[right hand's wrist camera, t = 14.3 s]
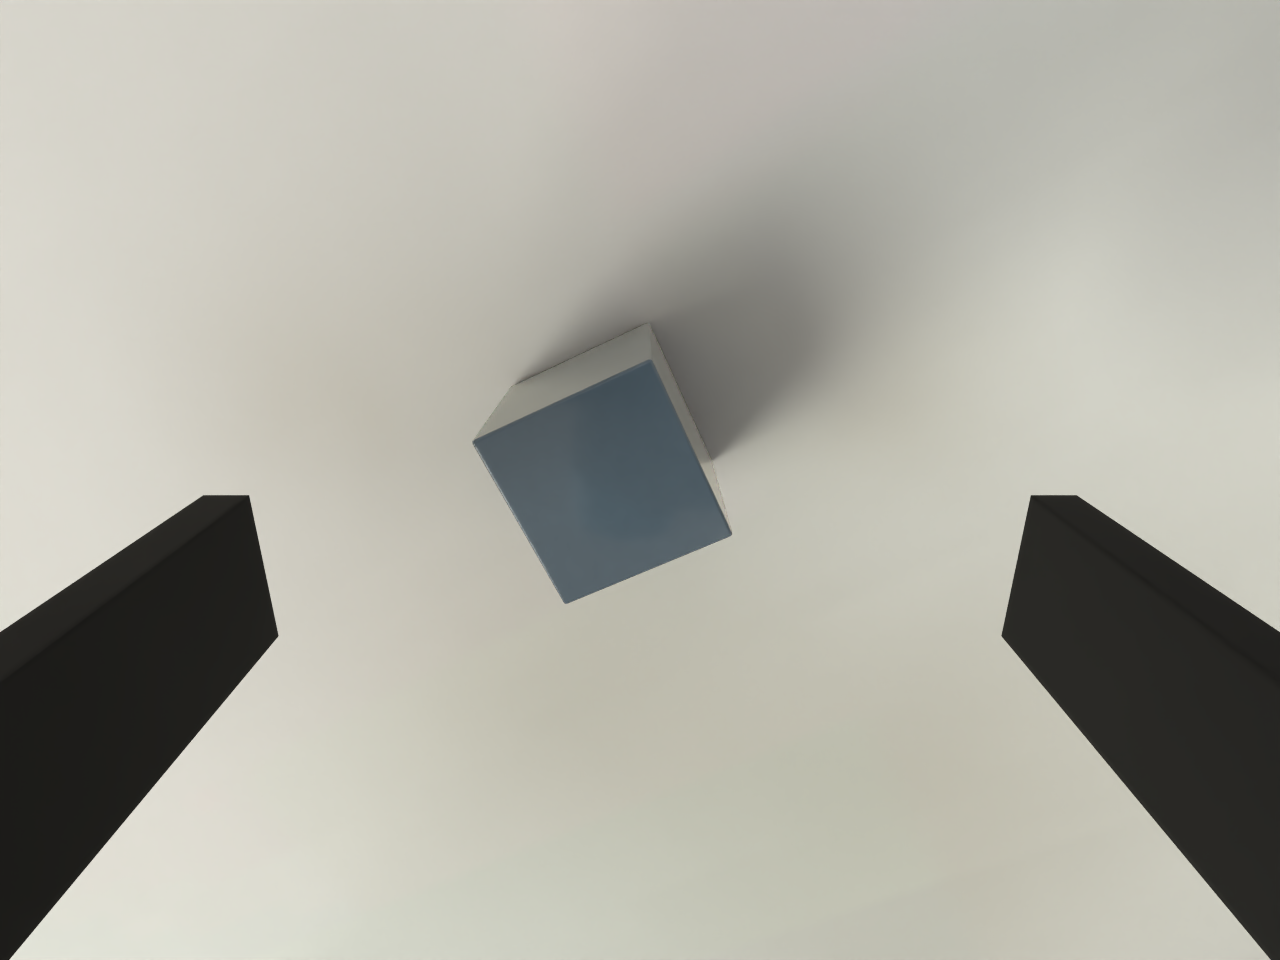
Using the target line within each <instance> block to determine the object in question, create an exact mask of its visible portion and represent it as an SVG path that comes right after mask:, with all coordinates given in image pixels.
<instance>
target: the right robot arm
mask: <svg viewBox="0 0 1280 960" xmlns="http://www.w3.org/2000/svg"><path fill="white" fill-rule="evenodd" d="M277 637H278V631H277V627H276V622H275V617H274V612H273V607H272V603H271V598H270V593H269V588H268V584H267V579H266V574H265V569H264V565H263V560H262V555H261V550H260V545H259V541H258V536H257V531H256V526H255V522H254V517H253V512H252V507H251V502H250V498H249V495H203V496H202V497H200V498H199V499H197V500H196V501H194V502H193V503H191V504H190V505H188V506H187V507H185V508H184V509H182V510H181V511H179V512H178V513H177V514H175V515H174V516H172V517H171V518H169V519H168V520H166V521H165V522H163V523H162V524H160V525H159V526H157V527H156V528H154V529H153V530H151V531H150V532H148V533H147V534H145V535H144V536H142V537H141V538H139V539H138V540H136V541H135V542H133V543H132V544H130V545H129V546H128V547H126V548H125V549H123V550H122V551H120V552H119V553H117V554H116V555H114V556H113V557H111V558H110V559H108V560H107V561H105V562H104V563H102V564H101V565H99V566H98V567H96V568H95V569H93V570H92V571H90V572H89V573H87V574H86V575H84V576H83V577H81V578H80V579H78V580H77V581H76V582H74V583H73V584H71V585H70V586H68V587H67V588H65V589H64V590H62V591H61V592H59V593H58V594H56V595H55V596H53V597H52V598H50V599H49V600H47V601H46V602H44V603H43V604H41V605H40V606H38V607H37V608H35V609H34V610H32V611H31V612H29V613H28V614H27V615H25V616H24V617H22V618H21V619H19V620H18V621H16V622H15V623H13V624H12V625H10V626H9V627H7V628H6V629H4V630H3V631H1V632H0V960H9V959H10V958H11V957H12V956H13V955H14V953H15V952H16V951H17V950H18V949H19V947H20V946H21V945H22V944H23V942H24V941H25V940H26V939H27V938H28V936H29V935H30V934H31V933H32V932H33V930H34V929H35V928H36V927H37V926H38V924H39V923H40V922H41V921H42V920H43V918H44V917H45V916H46V915H47V914H48V912H49V911H50V910H51V909H52V908H53V906H54V905H55V904H56V903H57V902H58V900H59V899H60V898H61V897H62V896H63V894H64V893H65V892H66V891H67V890H68V888H69V887H70V886H71V885H72V884H73V882H74V881H75V880H76V879H77V878H78V876H79V875H80V874H81V873H82V872H83V870H84V869H85V868H86V867H87V866H88V864H89V863H90V862H91V861H92V860H93V858H94V857H95V856H96V855H97V854H98V852H99V851H100V850H101V849H102V848H103V846H104V845H105V844H106V843H107V842H108V840H109V839H110V838H111V837H112V836H113V834H114V833H115V832H116V831H117V830H118V828H119V827H120V826H121V825H122V823H123V822H124V821H125V820H126V819H127V817H128V816H129V815H130V814H131V813H132V811H133V810H134V809H135V808H136V807H137V805H138V804H139V803H140V802H141V801H142V799H143V798H144V797H145V796H146V795H147V793H148V792H149V791H150V790H151V789H152V787H153V786H154V785H155V784H156V783H157V781H158V780H159V779H160V778H161V777H162V775H163V774H164V773H165V772H166V771H167V769H168V768H169V767H170V766H171V765H172V763H173V762H174V761H175V760H176V759H177V757H178V756H179V755H180V754H181V753H182V751H183V750H184V749H185V748H186V747H187V745H188V744H189V743H190V742H191V741H192V739H193V738H194V737H195V736H196V735H197V733H198V732H199V731H200V730H201V729H202V727H203V726H204V725H205V724H206V723H207V721H208V720H209V719H210V718H211V717H212V715H213V714H214V713H215V712H216V710H217V709H218V708H219V707H220V706H221V704H222V703H223V702H224V701H225V700H226V698H227V697H228V696H229V695H230V694H231V692H232V691H233V690H234V689H235V688H236V686H237V685H238V684H239V683H240V682H241V680H242V679H243V678H244V677H245V676H246V674H247V673H248V672H249V671H250V670H251V668H252V667H253V666H254V665H255V664H256V662H257V661H258V660H259V659H260V658H261V656H262V655H263V654H264V653H265V652H266V650H267V649H268V648H269V647H270V646H271V644H272V643H273V642H274V641H275V640H276V638H277ZM1002 637H1003V638H1004V640H1005V641H1006V642H1007V643H1008V644H1009V646H1010V647H1011V648H1012V649H1013V650H1014V652H1015V653H1016V654H1017V655H1018V656H1019V658H1020V659H1021V660H1022V661H1023V662H1024V664H1025V665H1026V666H1027V667H1028V668H1029V670H1030V671H1031V672H1032V673H1033V674H1034V676H1035V677H1036V678H1037V679H1038V680H1039V682H1040V683H1041V684H1042V685H1043V686H1044V688H1045V689H1046V690H1047V691H1048V692H1049V694H1050V695H1051V696H1052V697H1053V698H1054V700H1055V701H1056V702H1057V703H1058V704H1059V706H1060V707H1061V708H1062V709H1063V710H1064V712H1065V713H1066V714H1067V715H1068V717H1069V718H1070V719H1071V720H1072V721H1073V723H1074V724H1075V725H1076V726H1077V727H1078V729H1079V730H1080V731H1081V732H1082V733H1083V735H1084V736H1085V737H1086V738H1087V739H1088V741H1089V742H1090V743H1091V744H1092V745H1093V747H1094V748H1095V749H1096V750H1097V751H1098V753H1099V754H1100V755H1101V756H1102V757H1103V759H1104V760H1105V761H1106V762H1107V763H1108V765H1109V766H1110V767H1111V768H1112V769H1113V771H1114V772H1115V773H1116V774H1117V775H1118V777H1119V778H1120V779H1121V780H1122V781H1123V783H1124V784H1125V785H1126V786H1127V787H1128V789H1129V790H1130V791H1131V792H1132V793H1133V795H1134V796H1135V797H1136V798H1137V799H1138V801H1139V802H1140V803H1141V804H1142V805H1143V807H1144V808H1145V809H1146V810H1147V811H1148V813H1149V814H1150V815H1151V816H1152V817H1153V819H1154V820H1155V821H1156V822H1157V823H1158V825H1159V826H1160V827H1161V828H1162V830H1163V831H1164V832H1165V833H1166V834H1167V836H1168V837H1169V838H1170V839H1171V840H1172V842H1173V843H1174V844H1175V845H1176V846H1177V848H1178V849H1179V850H1180V851H1181V852H1182V854H1183V855H1184V856H1185V857H1186V858H1187V860H1188V861H1189V862H1190V863H1191V864H1192V866H1193V867H1194V868H1195V869H1196V870H1197V872H1198V873H1199V874H1200V875H1201V876H1202V878H1203V879H1204V880H1205V881H1206V882H1207V884H1208V885H1209V886H1210V887H1211V888H1212V890H1213V891H1214V892H1215V893H1216V894H1217V896H1218V897H1219V898H1220V899H1221V900H1222V902H1223V903H1224V904H1225V905H1226V906H1227V908H1228V909H1229V910H1230V911H1231V912H1232V914H1233V915H1234V916H1235V917H1236V918H1237V920H1238V921H1239V922H1240V923H1241V924H1242V926H1243V927H1244V928H1245V929H1246V930H1247V932H1248V933H1249V934H1250V935H1251V936H1252V938H1253V939H1254V940H1255V941H1256V942H1257V944H1258V945H1259V946H1260V947H1261V949H1262V950H1263V951H1264V952H1265V953H1266V955H1267V956H1268V957H1269V958H1270V959H1271V960H1280V632H1279V631H1277V630H1276V629H1274V628H1273V627H1271V626H1270V625H1268V624H1267V623H1265V622H1264V621H1262V620H1261V619H1259V618H1258V617H1256V616H1255V615H1253V614H1252V613H1251V612H1249V611H1248V610H1246V609H1245V608H1243V607H1242V606H1240V605H1239V604H1237V603H1236V602H1234V601H1233V600H1231V599H1230V598H1228V597H1227V596H1225V595H1224V594H1222V593H1221V592H1219V591H1218V590H1216V589H1215V588H1213V587H1212V586H1210V585H1209V584H1207V583H1206V582H1204V581H1203V580H1202V579H1200V578H1199V577H1197V576H1196V575H1194V574H1193V573H1191V572H1190V571H1188V570H1187V569H1185V568H1184V567H1182V566H1181V565H1179V564H1178V563H1176V562H1175V561H1173V560H1172V559H1170V558H1169V557H1167V556H1166V555H1164V554H1163V553H1161V552H1160V551H1158V550H1157V549H1155V548H1154V547H1152V546H1151V545H1150V544H1148V543H1147V542H1145V541H1144V540H1142V539H1141V538H1139V537H1138V536H1136V535H1135V534H1133V533H1132V532H1130V531H1129V530H1127V529H1126V528H1124V527H1123V526H1121V525H1120V524H1118V523H1117V522H1115V521H1114V520H1112V519H1111V518H1109V517H1108V516H1106V515H1105V514H1103V513H1102V512H1101V511H1099V510H1098V509H1096V508H1095V507H1093V506H1092V505H1090V504H1089V503H1087V502H1086V501H1084V500H1083V499H1081V498H1080V497H1078V496H1077V495H1031V498H1030V502H1029V507H1028V512H1027V517H1026V522H1025V526H1024V531H1023V536H1022V541H1021V545H1020V550H1019V555H1018V560H1017V565H1016V569H1015V574H1014V579H1013V584H1012V588H1011V593H1010V598H1009V603H1008V607H1007V612H1006V617H1005V622H1004V627H1003V631H1002Z"/></svg>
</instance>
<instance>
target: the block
mask: <svg viewBox="0 0 1280 960" xmlns="http://www.w3.org/2000/svg"><path fill="white" fill-rule="evenodd" d="M472 442H473V445H474V447H475V449H476V450H477V452H478V454H479V456H480V457H481V459H482V461H483V463H484V464H485V466H486V468H487V470H488V471H489V473H490V475H491V477H492V478H493V480H494V482H495V484H496V485H497V487H498V489H499V491H500V492H501V494H502V496H503V497H504V499H505V501H506V503H507V504H508V506H509V508H510V510H511V511H512V513H513V515H514V517H515V518H516V520H517V522H518V524H519V525H520V527H521V529H522V531H523V532H524V534H525V536H526V538H527V539H528V541H529V543H530V544H531V546H532V548H533V550H534V551H535V553H536V555H537V557H538V558H539V560H540V562H541V564H542V565H543V567H544V569H545V571H546V572H547V574H548V576H549V578H550V579H551V581H552V583H553V585H554V586H555V588H556V590H557V591H558V593H559V595H560V597H561V598H562V600H563V602H564V603H565V604H567V603H570V602H572V601H575V600H577V599H580V598H582V597H584V596H587V595H589V594H592V593H594V592H596V591H599V590H601V589H604V588H606V587H609V586H611V585H613V584H616V583H618V582H621V581H623V580H626V579H628V578H630V577H633V576H635V575H638V574H640V573H642V572H645V571H647V570H650V569H652V568H655V567H657V566H659V565H662V564H664V563H667V562H669V561H671V560H674V559H676V558H679V557H681V556H684V555H686V554H688V553H691V552H693V551H696V550H698V549H701V548H703V547H705V546H708V545H710V544H713V543H715V542H717V541H720V540H722V539H725V538H727V537H730V536H731V535H732V530H731V527H730V523H729V520H728V516H727V513H726V509H725V505H724V502H723V498H722V495H721V491H720V488H719V484H718V481H717V477H716V473H715V470H714V466H713V463H712V460H711V458H710V456H709V453H708V451H707V449H706V447H705V445H704V442H703V440H702V438H701V436H700V434H699V431H698V429H697V427H696V425H695V423H694V420H693V418H692V416H691V414H690V412H689V409H688V407H687V405H686V403H685V401H684V398H683V396H682V394H681V392H680V390H679V387H678V385H677V383H676V381H675V379H674V376H673V374H672V372H671V370H670V368H669V365H668V363H667V361H666V359H665V357H664V354H663V352H662V350H661V348H660V346H659V343H658V341H657V339H656V337H655V335H654V332H653V330H652V328H651V326H650V324H649V323H646V324H644V325H642V326H639V327H637V328H635V329H633V330H631V331H629V332H627V333H625V334H622V335H620V336H618V337H616V338H614V339H612V340H610V341H607V342H605V343H603V344H601V345H599V346H597V347H595V348H593V349H590V350H588V351H586V352H584V353H582V354H580V355H578V356H576V357H573V358H571V359H569V360H567V361H565V362H563V363H561V364H558V365H556V366H554V367H552V368H550V369H548V370H546V371H544V372H541V373H539V374H537V375H535V376H533V377H531V378H529V379H527V380H524V381H522V382H520V383H518V384H516V385H514V386H512V387H511V388H510V389H509V390H508V392H507V393H506V395H505V396H504V397H503V399H502V400H501V402H500V403H499V405H498V406H497V407H496V409H495V410H494V412H493V413H492V414H491V416H490V417H489V419H488V420H487V421H486V423H485V424H484V426H483V427H482V429H481V430H480V431H479V433H478V434H477V436H476V437H475V438H474V440H473V441H472Z"/></svg>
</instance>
